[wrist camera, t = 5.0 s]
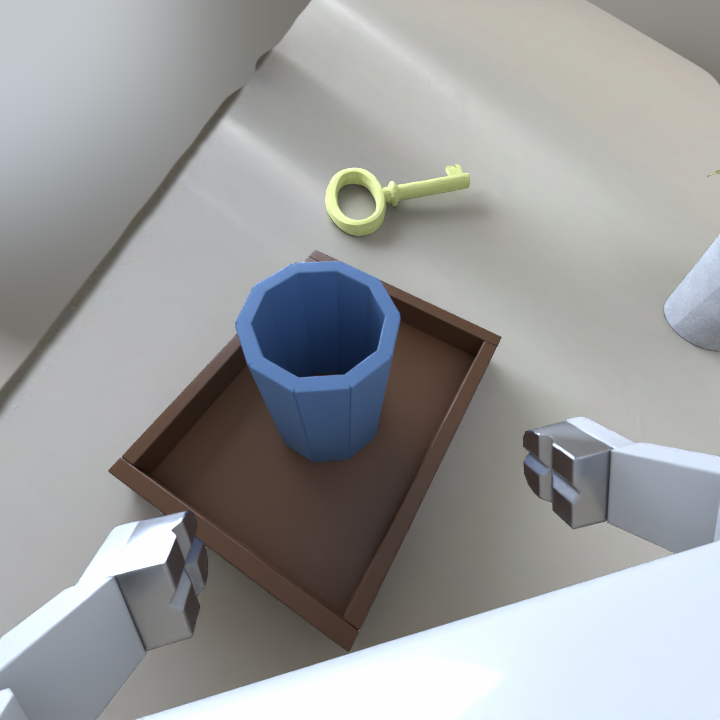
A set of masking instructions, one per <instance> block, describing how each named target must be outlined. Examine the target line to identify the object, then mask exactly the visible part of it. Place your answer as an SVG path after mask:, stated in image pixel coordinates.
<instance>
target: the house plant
mask: <svg viewBox="0 0 720 720" xmlns="http://www.w3.org/2000/svg"><path fill="white" fill-rule="evenodd" d="M713 174H720V170H719V171H716V172H714V173H713ZM713 174H711V175H713ZM711 175H709V176H711ZM707 177H708V176H707ZM664 313H665V316H666V319H667V321H668V322H669V324H670V325H671V327H672V328H673V329H674V330H675V331H676V332H677V333H678V334H679V335H680V336H681V337H683V338H684V339H686V340H687V341H688V342H690V343H692V344H694V345H696V346H698V347H701V348H704V349H708V350H714V351H720V235H719V236H718V238H717V239H716V240H715V241H714V242H713V244H712V245H711V246H710V247H709V249H708V250H707V251H706V252H705V254H704V255H703V256H702V257H701V258H700V260H699V261H698V262H697V263H696V265H695V266H694V267H693V268H692V270H691V271H690V272H689V273H688V274H687V276H686V277H685V278H684V279H683V281H682V282H681V283H680V284H679V286H678V287H677V288H676V289H675V290H674V292H673V293H672V294H671V295H670V297H669V298H668V299H667V300H666V303H665V305H664Z"/></svg>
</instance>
